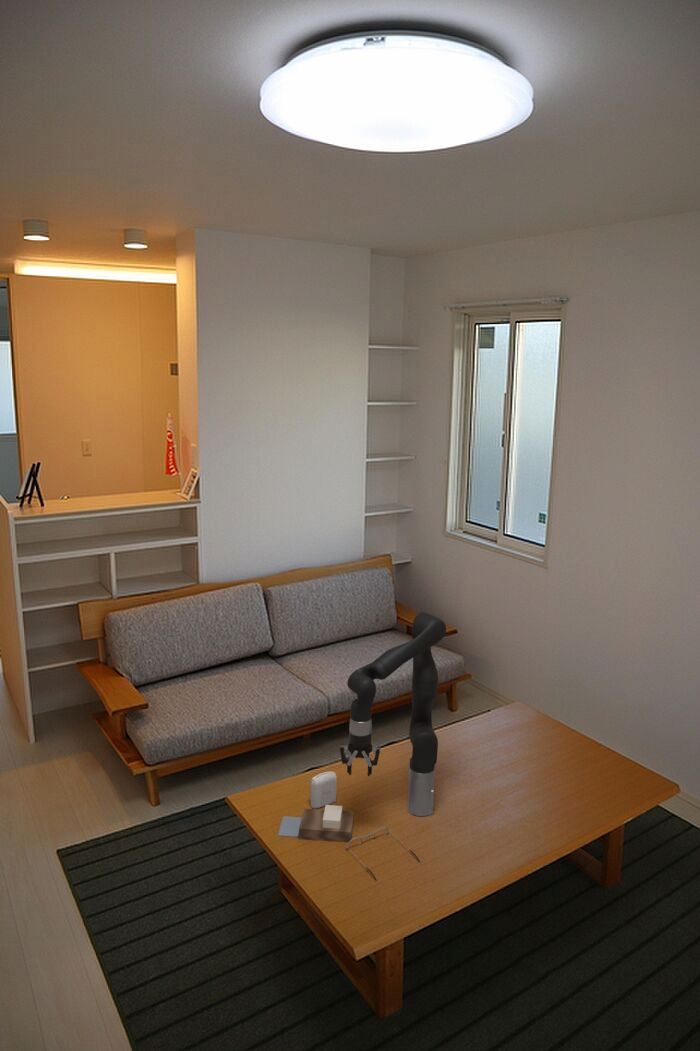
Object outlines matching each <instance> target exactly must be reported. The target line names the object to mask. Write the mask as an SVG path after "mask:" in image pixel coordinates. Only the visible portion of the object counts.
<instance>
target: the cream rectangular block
mask: <svg viewBox="0 0 700 1051" xmlns="http://www.w3.org/2000/svg"><path fill="white" fill-rule="evenodd" d="M324 810H325V811H324V816H323V828H335V829H340V826H341V819H342V811H343V805H334V804H332V805H331V804H329V805H325V806H324Z"/></svg>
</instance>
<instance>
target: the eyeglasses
mask: <svg viewBox="0 0 700 1051" xmlns="http://www.w3.org/2000/svg"><path fill="white" fill-rule="evenodd" d="M384 828H385V829H386V832H385V834H384V836H386V835H387V834H388V832H390V833H391V834H392V835H393V836H394V837H395V838H396V839H397V840H398V841H400V842H401V844H403V842H402V841H401V840H400V839H399V838H398V837H396V835H395V834H394V833H393V832H392V831H391V830H390V828H389V829H388V828H387V826H382V827H379V828H378V829H376V830H375V831H374V832H372V833H369V834H366V835H363V836H362V837H361V836H356V837H353V838H352V839H351V840H350V841H349V842H347V845H345V847H346V849H348V850H349V851H350V852H351V853H352V854H353V855H354V856H355V857H357V855H356V854H355V853H354V852H353V851H352V850H351V848H350V847H349V846H350V843H352V841H353V840H356V839H358V838H360V842H359V844H358V846H360V845H361V844H362V842H363V840H364V839H365V838H367V837H370V836H373V838H374V839H377V837H375V835H376V833H377V832H378V831H379V830H381V829H384ZM408 851H409V852H410V853H411V854H412V855H413V856H414V857H415V858H416V859H417V861H418V863H419V862H420V863H421V861H420V860H419V857H418V856H417V854H416V853H414V852H413V851H412V850H411V849H408ZM360 863H361V864H362V865H363V866H364V867H365V868H366V869H367V871H368V872H369V874H371V875H372V876H373V878H374V880H375V882H378V880H377V878H376V876H375V875H374V873H373V872H372V871H371V870H370V869H369V868H368V866H366V865H365V864H364V863H363V862H362V861H360Z"/></svg>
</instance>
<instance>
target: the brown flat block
mask: <svg viewBox="0 0 700 1051" xmlns="http://www.w3.org/2000/svg"><path fill="white" fill-rule="evenodd" d="M324 811H325V809H319V808H316V809H314V808H303V811H302V813H301V814H302V815H301V817H302V819H301V823H300V827H299V835H298V840H306V841H307V840H308V841H310V840H311V841H323V842H324V841H325V842H338V843H348V842H349V841H350V840H351V839H353V838H352V835H353V830H354V823H355V822H354V820H355V819H354V817H355V816H354V813H355V812H354V811H351V810H348V811H347V810H342V819H341V826H340V829H335V828H323V816H324Z"/></svg>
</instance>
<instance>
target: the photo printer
mask: <svg viewBox="0 0 700 1051" xmlns="http://www.w3.org/2000/svg"><path fill="white" fill-rule="evenodd" d="M337 779H338V778H337V774H336V772H334V771H325V772H324V771H323V772H321V773H318V774H317V775H314V776H313V777H312V778H311V779H310V793H309V794H310V798H309V799H310V801H309V804H310V807H311V809H319V808H322V807H325V805H331V804H334V803H336V802H337V786H338V785H337V781H338V780H337Z"/></svg>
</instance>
